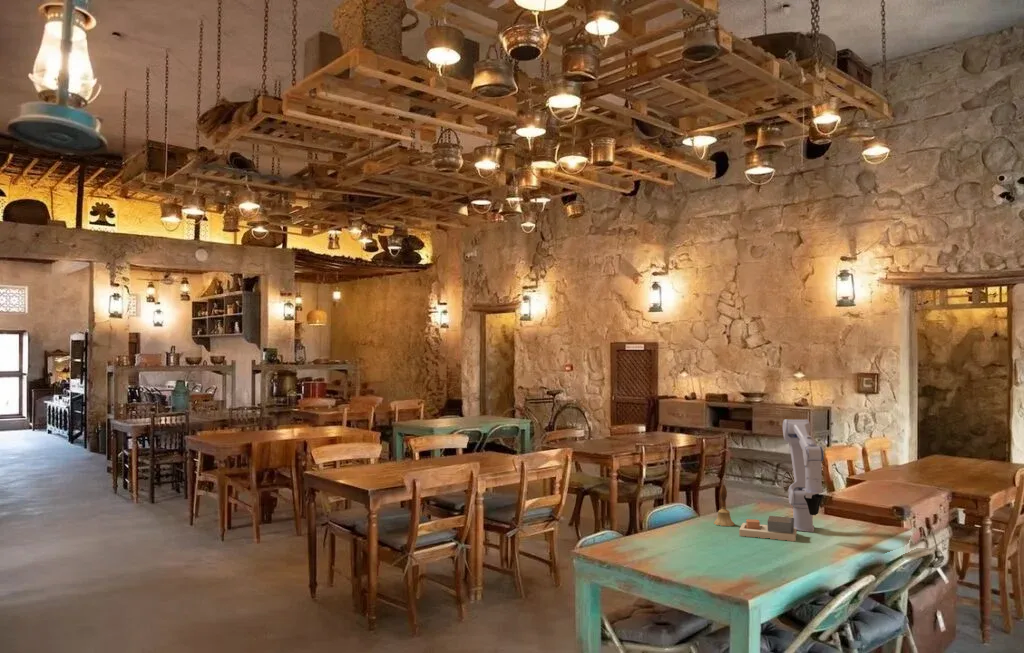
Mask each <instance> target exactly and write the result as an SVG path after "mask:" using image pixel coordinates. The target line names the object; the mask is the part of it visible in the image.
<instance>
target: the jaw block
mask: <svg viewBox="0 0 1024 653" xmlns="http://www.w3.org/2000/svg"><path fill="white" fill-rule="evenodd" d="M745 521H746V522H745V523H746V529H756V530H760V523H761V522H760V520H759V519H753V518H752V519H750V518H747V519H746V520H745Z"/></svg>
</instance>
